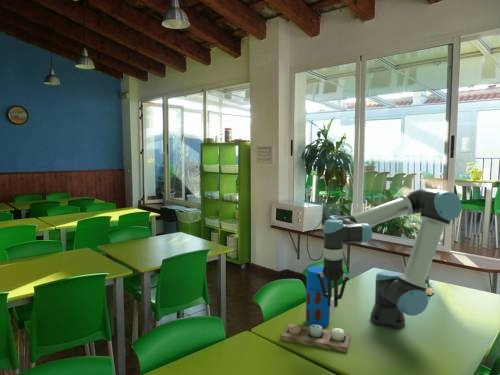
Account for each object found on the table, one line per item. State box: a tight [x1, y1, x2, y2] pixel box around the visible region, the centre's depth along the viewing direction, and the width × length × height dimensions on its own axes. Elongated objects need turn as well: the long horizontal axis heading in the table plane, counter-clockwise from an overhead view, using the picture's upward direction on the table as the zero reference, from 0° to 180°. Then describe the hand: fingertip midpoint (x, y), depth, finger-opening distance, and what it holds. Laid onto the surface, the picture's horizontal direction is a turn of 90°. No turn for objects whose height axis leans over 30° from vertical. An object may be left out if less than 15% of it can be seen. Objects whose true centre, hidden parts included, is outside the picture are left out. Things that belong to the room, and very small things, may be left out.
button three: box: [289, 324, 301, 335], centre depth 158 cm, size 5×5×3 cm
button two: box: [309, 324, 323, 338], centre depth 155 cm, size 5×5×3 cm
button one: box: [331, 327, 345, 342], centre depth 152 cm, size 5×5×3 cm
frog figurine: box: [425, 275, 435, 296], centre depth 208 cm, size 10×18×15 cm, turn 121°
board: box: [280, 323, 351, 353], centre depth 155 cm, size 27×12×2 cm, turn 69°
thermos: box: [305, 265, 331, 329], centre depth 170 cm, size 11×11×25 cm
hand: (332, 314), depth 152 cm, fingers closed
